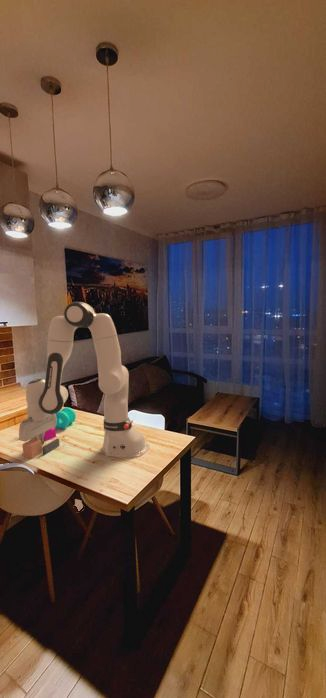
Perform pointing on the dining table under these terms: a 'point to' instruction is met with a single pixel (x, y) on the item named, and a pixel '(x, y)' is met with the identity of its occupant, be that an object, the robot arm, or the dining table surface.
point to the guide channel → (50, 446)
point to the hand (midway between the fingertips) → (39, 442)
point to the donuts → (65, 417)
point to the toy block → (49, 434)
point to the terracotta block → (32, 448)
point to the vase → (78, 504)
